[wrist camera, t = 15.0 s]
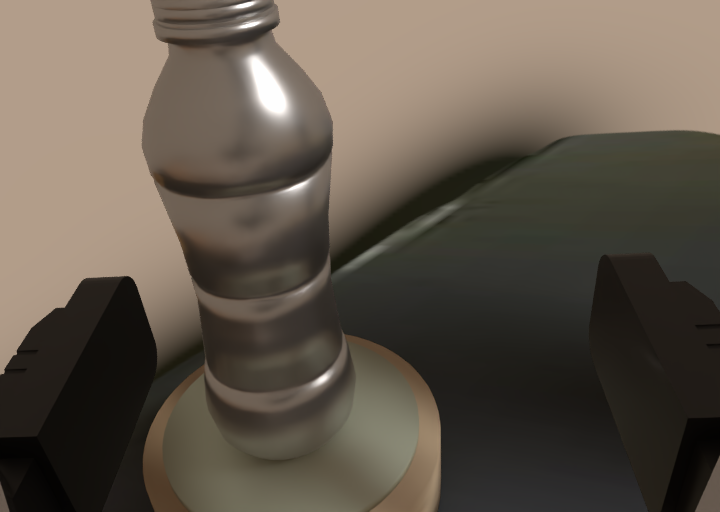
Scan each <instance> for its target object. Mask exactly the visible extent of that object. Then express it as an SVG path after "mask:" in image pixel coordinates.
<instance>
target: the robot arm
mask: <svg viewBox="0 0 720 512" xmlns="http://www.w3.org/2000/svg"><path fill="white" fill-rule="evenodd" d="M589 344H590V351H591V356H592V360H593V363H594V366H595V369H596V371H597V374H598V377H599V380H600V382H601V385H602V388H603V390H604V393H605V396H606V398H607V401H608V404H609V407H610V409H611V412H612V415H613V417H614V420H615V423H616V425H617V428H618V431H619V433H620V436H621V439H622V442H623V444H624V447H625V450H626V452H627V455H628V458H629V460H630V463H631V466H632V468H633V471H634V474H635V477H636V479H637V482H638V485H639V487H640V490H641V493H642V495H643V498H644V501H645V504H646V506H647V509H648V512H720V312H719V310H718V309H717V307H716V306H715V304H714V303H713V301H712V300H711V299H709V298H708V297H707V296H705V295H704V294H703V293H701V292H700V291H698V290H697V289H696V288H694V287H693V286H692V285H690V284H689V283H688V282H686V281H682V282H669V280H668V279H667V277H666V275H665V274H664V272H663V270H662V268H661V267H660V265H659V263H658V262H657V260H656V258H655V257H654V255H652V254H651V253H632V254H611V255H603V256H602V257H601V259H600V261H599V265H598V271H597V278H596V285H595V291H594V298H593V305H592V311H591V318H590V325H589ZM156 367H157V349H156V343H155V340H154V337H153V334H152V331H151V328H150V325H149V322H148V319H147V316H146V313H145V310H144V307H143V304H142V301H141V298H140V295H139V292H138V289H137V286H136V284H135V282H134V280H133V279H132V278H131V277H129V276H122V277H101V278H86V279H84V280H83V281H81V283H80V284H79V286H78V288H77V289H76V291H75V292H74V294H73V296H72V297H71V299H70V300H69V302H68V304H67V305H66V307H65V308H55V309H54V310H53V311H52V312H51V313H49V314H48V315H47V316H46V317H44V318H43V319H42V320H41V321H40V322H38V323H37V324H36V325H35V326H34V327H32V328H31V330H30V331H29V333H28V334H27V336H26V337H25V339H24V340H23V342H22V343H21V345H20V346H19V348H18V349H17V355H14V356H13V357H12V358H11V360H10V362H9V363H8V365H7V366H6V368H5V369H4V370H5V373H4V374H1V375H0V512H102V509H103V507H104V504H105V502H106V499H107V497H108V494H109V491H110V489H111V486H112V484H113V481H114V479H115V476H116V474H117V471H118V469H119V466H120V463H121V461H122V458H123V456H124V453H125V451H126V448H127V446H128V443H129V440H130V438H131V435H132V433H133V430H134V428H135V425H136V423H137V420H138V418H139V415H140V412H141V410H142V407H143V405H144V402H145V400H146V397H147V395H148V392H149V389H150V387H151V384H152V382H153V379H154V376H155V373H156Z"/></svg>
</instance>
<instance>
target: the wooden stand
mask: <svg viewBox="0 0 720 512" xmlns="http://www.w3.org/2000/svg"><path fill="white" fill-rule="evenodd" d="M344 335H345V338H346V340H347V343H348V346H349V349H350V353H351V357H352V361H353V364H354V369H355V374H356V383H355V391H354V399H353V406H352V410H351V412H350V415H349V418H348V419H347V421H346V422H345V424H344V425H343V427H342V428H341V429H340V430H339V431H338V432H337V433H336V434H335V435H334V436H333V437H332V438H331V439H330V440H329V441H328V442H327V443H326V444H324V445H323V446H322V447H320V448H319V449H317V450H315V451H313V452H311V453H309V454H307V455H303V456H300V457H297V458H292V459H287V460H267V459H261V458H258V457H255V456H251V455H249V454H247V453H244V452H242V451H240V450H238V449H237V448H235V447H233V446H231V445H230V444H229V443H228V442H227V441H226V440H225V439H224V438H223V436H222V434H221V433H220V431H219V429H218V428H217V426H216V424H215V422H214V420H213V418H212V416H211V414H210V413H209V411H208V407H207V403H206V395H205V383H204V368H205V364H204V365H203V366H201V367H200V368H199V369H197V370H196V371H195V372H194V373H192V374H191V375H190V376H188V377H187V378H186V379H185V380H184V381H183V382H182V383H181V384H180V385H179V386H178V387H177V388H176V389H175V390H174V391H173V393H172V394H171V395H170V396H169V397H168V398H167V400H166V401H165V403H164V404H163V406H162V407H161V408H160V410H159V411H158V413H157V415H156V417H155V419H154V421H153V423H152V425H151V427H150V430H149V433H148V436H147V439H146V442H145V448H144V454H143V476H144V482H145V487H146V490H147V493H148V496H149V498H150V501H151V504H152V506H153V509H154V511H155V512H438V507H439V502H440V493H441V425H440V418H439V412H438V408H437V405H436V402H435V399H434V397H433V395H432V393H431V391H430V389H429V387H428V385H427V384H426V383H425V381H424V380H423V378H422V377H421V376H420V374H419V373H418V372H417V371H416V370H415V369H414V368H413V367H412V366H411V365H410V364H409V363H407V362H406V361H405V360H404V359H402V358H401V357H400V356H398V355H397V354H395V353H393V352H392V351H390V350H388V349H387V348H385V347H383V346H380V345H378V344H376V343H374V342H371V341H368V340H365V339H362V338H359V337H355V336H350V335H346V334H344Z"/></svg>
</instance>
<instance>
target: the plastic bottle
mask: <svg viewBox="0 0 720 512" xmlns="http://www.w3.org/2000/svg"><path fill="white" fill-rule="evenodd" d="M151 4H152V8H153V12H154V16H155V19H154V20H153V26H154V30H155V34H156V37H157V39H159V40H160V41H162V42H165V43H168V46H169V47H168V48H169V57H168V59H167V61H166V63H165V65H164V67H163V70H162V72H161V74H160V76H159V78H158V80H157V82H156V84H155V87H154V89H153V92H152V95H151V99H150V102H149V104H148V107H147V110H146V113H145V116H144V120H143V134H142V149H143V153H144V156H145V158H146V161H147V164H148V167H149V170H150V173H151V176H152V177H153V178H154V182H155V185H156V187H157V190H158V192H159V194H160V197H161V199H162V201H163V204H164V206H165V208H166V211H167V213H168V215H169V218H170V219H171V222H172V225H173V227H174V229H175V232H176V234H177V236H178V239H179V241H180V244H181V247H182V250H183V253H184V257H185V260H186V263H187V266H188V270H189V273H190V275H191V276H192V278H191V279H192V282H193V286H194V289H195V292H196V296H197V298H198V305H199V313H200V321H201V328H202V335H203V343H204V350H205V368H204V383H205V395H206V403H207V407H208V411H209V413H210V414H211V416H212V418H213V420H214V422H215V424H216V426H217V428H218V429H219V431H220V433H221V434H222V436H223V438H224V439H225V440H226V441H227V442H228V443H229V444H230V445H231V446H233V447H235V448H237V449H238V450H240V451H242V452H244V453H247V454H249V455H251V456H255V457H258V458H261V459H267V460H287V459H292V458H297V457H300V456H303V455H307V454H309V453H311V452H313V451H315V450H317V449H319V448H320V447H322V446H323V445H324V444H326V443H327V442H328V441H329V440H330V439H331V438H332V437H333V436H334V435H335V434H336V433H337V432H338V431H339V430H340V429H341V428H342V427H343V425H344V424H345V422H346V421H347V419H348V418H349V415H350V412H351V410H352V406H353V399H354V391H355V383H356V374H355V369H354V364H353V361H352V357H351V353H350V349H349V346H348V343H347V340H346V338H345V335H344V333H343V331H342V329H341V325H340V320H339V315H338V310H337V305H336V301H335V296H334V291H333V286H332V281H331V270H330V256H329V248H330V246H329V245H330V244H329V221H328V210H329V195H330V179H331V162H332V146H333V135H332V134H333V133H332V132H333V122H332V119H331V115H330V113H329V111H328V108H327V106H326V103H325V101H324V98H323V96H322V93H321V92H320V90H319V89H318V88H317V87H316V85H315V84H314V83H313V82H312V80H311V79H310V78H309V77H308V75H307V74H306V73H305V72H304V70H303V69H302V68H301V67H300V66H299V65H298V64H297V63H296V62H295V61H294V60H293V59H292V58H291V57H290V56H289V55H288V54H287V53H286V52H285V51H284V50H283V49H282V48H281V47H280V46H279V45H278V44H277V43H276V42H275V39H274V36H273V33H272V29H274V28H275V27H276V26H278V24H279V23H280V19H279V13H278V6H277V5H276V4H274V1H273V0H151Z"/></svg>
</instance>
